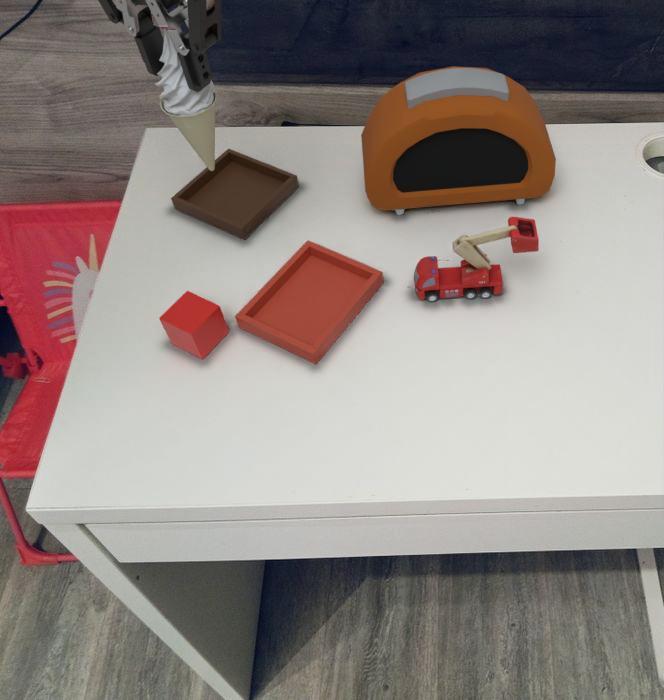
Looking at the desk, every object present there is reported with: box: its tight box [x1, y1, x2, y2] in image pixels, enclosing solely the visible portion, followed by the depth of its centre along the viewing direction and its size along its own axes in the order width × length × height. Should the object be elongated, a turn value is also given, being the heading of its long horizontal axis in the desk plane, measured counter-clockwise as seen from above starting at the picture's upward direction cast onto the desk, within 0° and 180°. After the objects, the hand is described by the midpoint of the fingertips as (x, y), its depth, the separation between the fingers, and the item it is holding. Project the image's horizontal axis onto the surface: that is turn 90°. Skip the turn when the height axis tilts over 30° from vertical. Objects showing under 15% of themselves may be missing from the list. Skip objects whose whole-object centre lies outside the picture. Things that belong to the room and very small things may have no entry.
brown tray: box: [170, 148, 300, 241], centre depth 98 cm, size 11×11×2 cm
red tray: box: [234, 239, 385, 365], centre depth 88 cm, size 14×11×2 cm
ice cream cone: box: [154, 29, 217, 171], centre depth 70 cm, size 5×5×15 cm
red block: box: [158, 290, 230, 360], centre depth 84 cm, size 4×4×4 cm
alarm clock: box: [360, 66, 557, 216], centre depth 94 cm, size 23×9×17 cm, turn 97°
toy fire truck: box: [413, 216, 540, 303], centre depth 86 cm, size 3×14×10 cm, turn 95°
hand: (180, 77), depth 68 cm, fingers closed on ice cream cone, 4 cm apart
